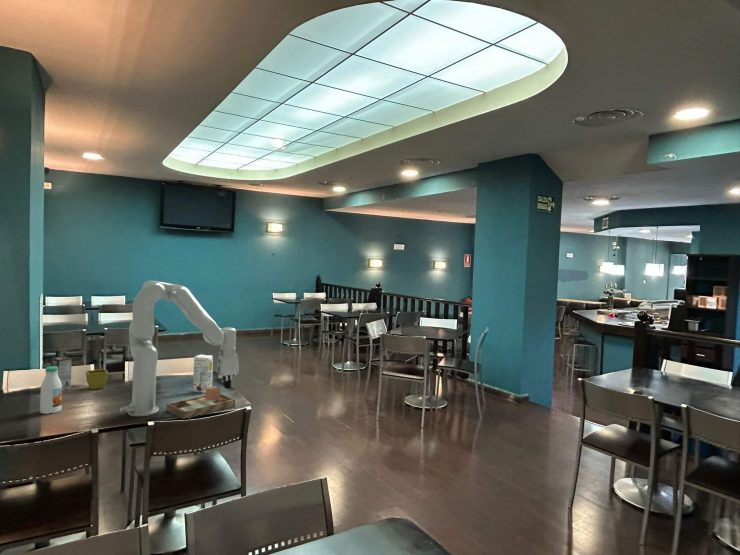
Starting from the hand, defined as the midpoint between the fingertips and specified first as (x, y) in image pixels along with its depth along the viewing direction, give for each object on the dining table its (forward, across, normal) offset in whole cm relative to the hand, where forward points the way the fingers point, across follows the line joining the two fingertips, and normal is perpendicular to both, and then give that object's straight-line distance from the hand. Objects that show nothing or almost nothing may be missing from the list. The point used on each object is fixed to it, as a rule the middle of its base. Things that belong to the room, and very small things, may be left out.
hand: (227, 387), depth 224 cm
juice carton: (+6, -1, +22) cm, 23 cm away
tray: (+6, -16, -3) cm, 18 cm away
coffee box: (+5, -51, +74) cm, 90 cm away
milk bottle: (+5, -65, +38) cm, 75 cm away
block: (+3, -8, 0) cm, 9 cm away
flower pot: (+5, -38, +63) cm, 74 cm away
